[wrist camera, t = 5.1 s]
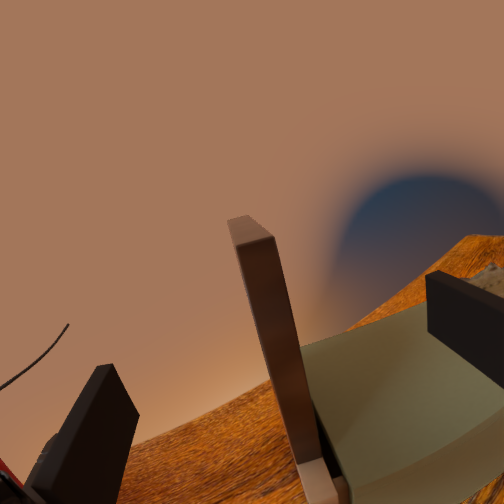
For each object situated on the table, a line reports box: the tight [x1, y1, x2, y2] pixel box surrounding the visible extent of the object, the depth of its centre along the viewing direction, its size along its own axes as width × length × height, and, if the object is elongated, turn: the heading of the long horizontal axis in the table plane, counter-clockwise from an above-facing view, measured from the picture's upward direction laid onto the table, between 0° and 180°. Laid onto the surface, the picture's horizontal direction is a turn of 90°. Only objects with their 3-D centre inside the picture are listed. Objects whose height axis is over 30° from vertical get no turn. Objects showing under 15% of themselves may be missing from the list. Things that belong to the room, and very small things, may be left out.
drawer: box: [227, 215, 350, 504], centre depth 16 cm, size 15×13×19 cm
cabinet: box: [300, 301, 504, 504], centre depth 17 cm, size 15×13×10 cm
